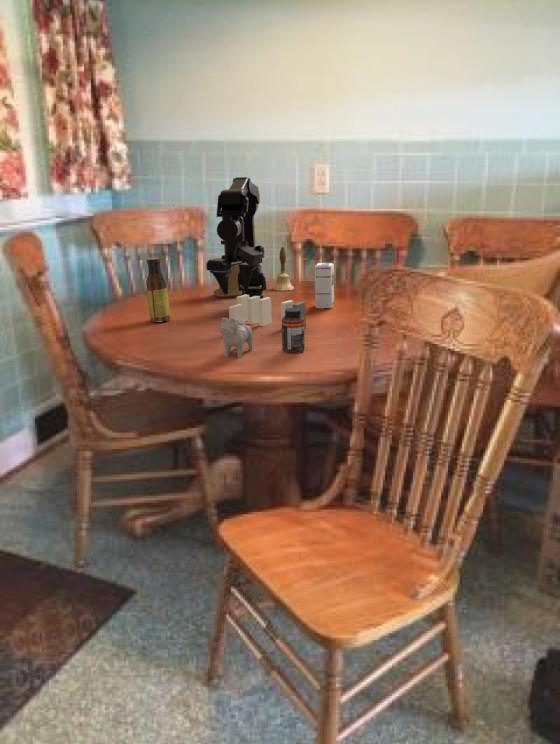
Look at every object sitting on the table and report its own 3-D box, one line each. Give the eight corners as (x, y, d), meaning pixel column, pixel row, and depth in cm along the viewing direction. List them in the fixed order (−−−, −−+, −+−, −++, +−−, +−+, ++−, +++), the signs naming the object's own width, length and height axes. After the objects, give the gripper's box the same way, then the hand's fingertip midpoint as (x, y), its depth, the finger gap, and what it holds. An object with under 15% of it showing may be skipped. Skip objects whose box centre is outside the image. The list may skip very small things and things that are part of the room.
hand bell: (271, 287, 258) (270, 246, 253) (292, 286, 259) (292, 245, 254) (273, 291, 250) (272, 249, 245) (295, 290, 251) (294, 248, 246)
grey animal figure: (216, 360, 169) (214, 319, 165) (237, 346, 180) (236, 308, 176) (234, 362, 167) (232, 321, 163) (255, 348, 178) (253, 309, 174)
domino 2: (237, 322, 206) (236, 296, 204) (246, 319, 209) (245, 294, 207) (241, 322, 205) (240, 297, 203) (250, 319, 209) (249, 294, 206)
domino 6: (292, 331, 194) (292, 304, 192) (301, 327, 198) (300, 301, 195) (297, 331, 193) (297, 305, 191) (305, 328, 197) (305, 302, 194)
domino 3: (248, 323, 204) (247, 298, 201) (256, 320, 207) (256, 295, 205) (252, 324, 203) (251, 298, 200) (260, 321, 206) (260, 296, 204)
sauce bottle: (173, 319, 211) (169, 257, 205) (164, 324, 206) (159, 260, 199) (155, 318, 213) (150, 256, 207) (145, 322, 208) (140, 259, 201)
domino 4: (258, 325, 201) (258, 299, 199) (267, 322, 205) (266, 297, 202) (263, 326, 200) (262, 300, 198) (271, 323, 204) (271, 297, 201)
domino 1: (230, 333, 193) (228, 306, 190) (239, 330, 196) (238, 304, 194) (234, 334, 192) (233, 307, 190) (243, 331, 195) (242, 304, 193)
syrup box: (332, 308, 221) (332, 265, 216) (314, 308, 222) (314, 265, 218) (334, 305, 226) (334, 262, 222) (317, 304, 227) (317, 262, 223)
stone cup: (215, 300, 237) (212, 258, 233) (212, 294, 248) (210, 254, 244) (256, 298, 239) (255, 256, 235) (252, 292, 251) (251, 252, 246)
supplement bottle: (281, 348, 177) (280, 307, 174) (303, 347, 178) (302, 306, 174) (283, 354, 172) (282, 312, 168) (305, 353, 172) (305, 311, 169)
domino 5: (281, 329, 197) (280, 302, 194) (289, 326, 200) (289, 300, 198) (285, 329, 196) (285, 303, 193) (294, 326, 199) (293, 300, 197)
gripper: (235, 242, 174) (237, 300, 179) (276, 234, 188) (277, 288, 193) (203, 239, 180) (206, 296, 185) (245, 232, 195) (247, 285, 199)
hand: (236, 291), depth 190 cm, fingers open, 9 cm apart
